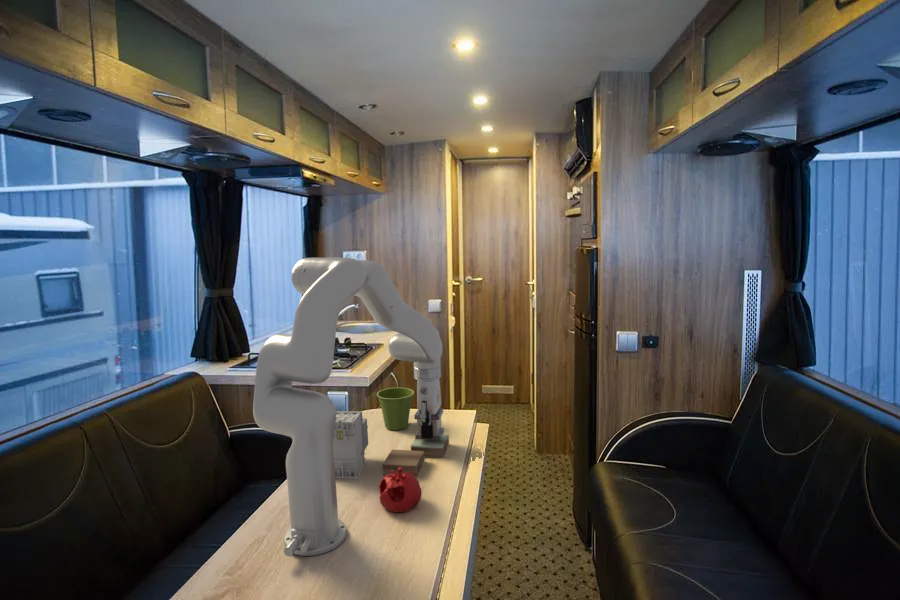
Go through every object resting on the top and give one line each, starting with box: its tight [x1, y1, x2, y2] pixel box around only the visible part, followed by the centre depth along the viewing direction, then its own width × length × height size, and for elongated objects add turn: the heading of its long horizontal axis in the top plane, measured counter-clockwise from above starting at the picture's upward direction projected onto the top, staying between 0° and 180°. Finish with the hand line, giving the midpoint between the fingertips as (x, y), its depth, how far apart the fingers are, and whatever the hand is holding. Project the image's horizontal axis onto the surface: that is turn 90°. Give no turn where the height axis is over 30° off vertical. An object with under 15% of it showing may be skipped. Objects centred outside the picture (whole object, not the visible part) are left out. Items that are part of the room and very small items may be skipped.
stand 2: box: [410, 433, 450, 458], centre depth 152 cm, size 9×9×3 cm
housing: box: [413, 407, 445, 440], centre depth 151 cm, size 6×7×7 cm
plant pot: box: [376, 386, 415, 431], centre depth 169 cm, size 12×12×11 cm
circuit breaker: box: [333, 410, 369, 479], centre depth 143 cm, size 8×14×15 cm, turn 174°
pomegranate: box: [378, 467, 422, 513], centre depth 122 cm, size 10×10×9 cm
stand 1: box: [381, 449, 426, 478], centre depth 141 cm, size 9×9×3 cm
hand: (429, 432), depth 151 cm, fingers closed on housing, 6 cm apart
